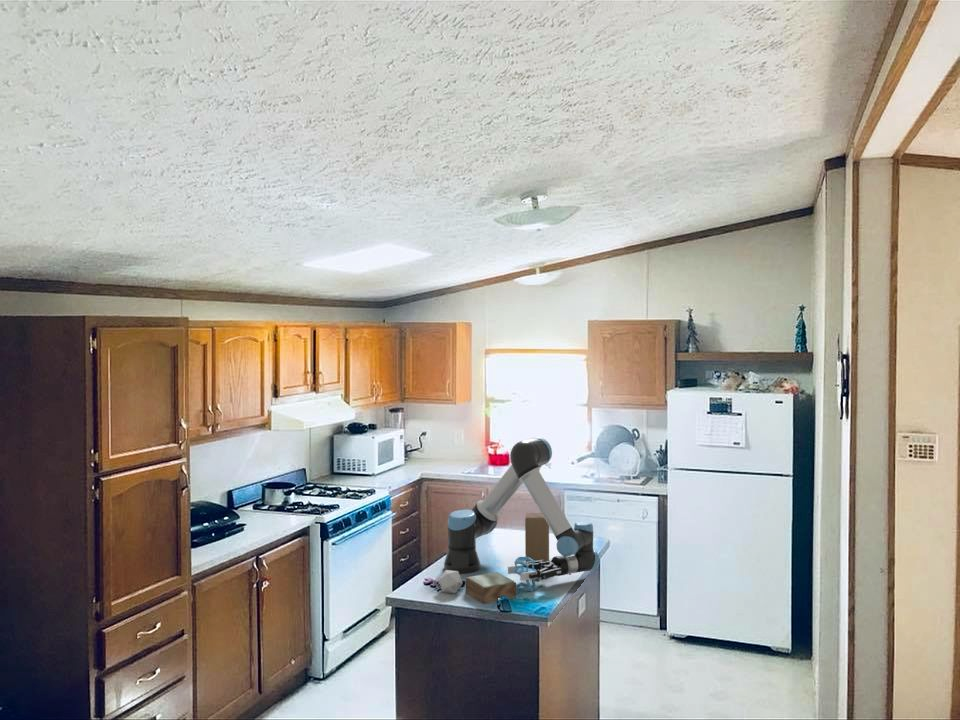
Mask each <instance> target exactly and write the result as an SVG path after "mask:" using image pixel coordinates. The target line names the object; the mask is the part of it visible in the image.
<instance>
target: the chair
mask: <svg viewBox="0 0 960 720" xmlns="http://www.w3.org/2000/svg"><path fill="white" fill-rule="evenodd" d="M526 560H529V561H531V562H532V563H533V565H532V569H529V568H528V566H529V564H527V563H525V562H526ZM521 564H522V566H521V568H519V569H518V567H517V565H521ZM534 564H535V561H534V560H532V559H531V558H529V557H526V556H518V557H517V558H515V560H514V566H516V570H515V571H514V573H513V574H514V575H518V576H521V575H520V573H525V572H530V571H536V572H537V570H536V569H534ZM524 565H525V566H526V568H525V567H524ZM524 581H525V582H526V583H525V582H523V581H521V582H518V583H516V591H522V592H523V591H524V592H534V590H537V583H536V578H535V579H531V582H530V579H529V580H524ZM520 586H524V587H520Z"/></svg>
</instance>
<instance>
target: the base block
mask: <svg viewBox="0 0 960 720" xmlns="http://www.w3.org/2000/svg"><path fill="white" fill-rule="evenodd" d="M516 584H517V582H516V581H514V580H512V579H511V578H509V577H507V576H505V575H504V574H501V573H500V572H498V571H496V572H491V573H484V574H478V575H474V576H473V575H472V576H467V577H466V578H465V593H466V594H467V595H469V596H470V597H472V598H473V599H475V600H476V601H478V602H479V603H481V604H483V605H485V604H489V603H495V602H498V601H497V600H498V598H500V597H508V598H510V599H515V598H517V590H516ZM510 599H509V600H510Z"/></svg>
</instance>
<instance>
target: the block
mask: <svg viewBox="0 0 960 720" xmlns="http://www.w3.org/2000/svg"><path fill="white" fill-rule="evenodd" d="M524 521H525V523H524V524H525V525H524V526H525V528H524V530H525V531H524V532H525V533H524V534H525V536H524V539H525V550H524V551H525V557H529V558H531V559H532V560H534V561H539V560H544V562H546V561H550V527H549V525H548V523H547V522H546V520H545V518H544V516H543V515H542V513H541V512H527V513H526V515H525V520H524ZM525 562H529V560H525Z"/></svg>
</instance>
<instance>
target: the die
mask: <svg viewBox="0 0 960 720" xmlns="http://www.w3.org/2000/svg"><path fill="white" fill-rule="evenodd" d="M437 581H438V583H439V586H440V588H441V591H442V593H446V594H447V593H450V594H457V592H458V591H459V589H460V588H461V586H462V585H463V583H464V582H463V580H462V578H461V575H460V573H459V572H458V571H451V570H445V569H444V572H443V573H442V574H441V575H440V577H439V578H438V580H437Z"/></svg>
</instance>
